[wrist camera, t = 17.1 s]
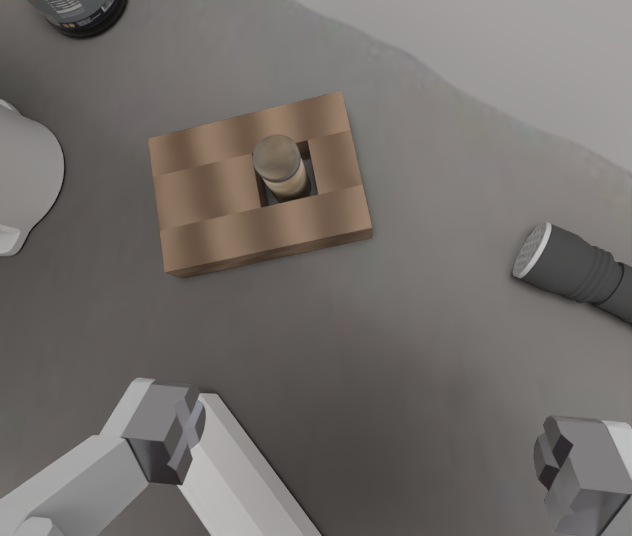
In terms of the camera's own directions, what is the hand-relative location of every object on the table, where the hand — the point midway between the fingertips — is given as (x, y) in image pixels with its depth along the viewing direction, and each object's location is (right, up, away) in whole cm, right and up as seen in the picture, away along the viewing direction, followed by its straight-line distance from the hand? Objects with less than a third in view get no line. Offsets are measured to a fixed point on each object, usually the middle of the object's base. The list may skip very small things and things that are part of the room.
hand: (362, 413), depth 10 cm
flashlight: (+25, +1, +30) cm, 39 cm away
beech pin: (-4, +12, +34) cm, 37 cm away
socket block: (-7, +11, +35) cm, 37 cm away
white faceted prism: (-7, -19, +30) cm, 36 cm away
